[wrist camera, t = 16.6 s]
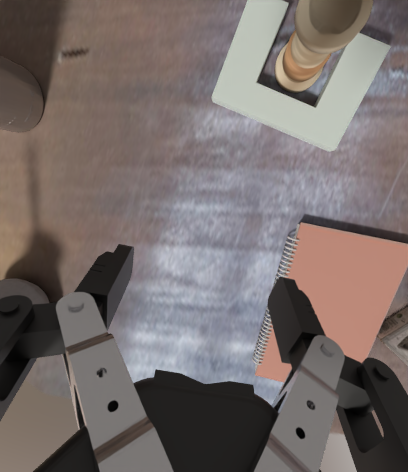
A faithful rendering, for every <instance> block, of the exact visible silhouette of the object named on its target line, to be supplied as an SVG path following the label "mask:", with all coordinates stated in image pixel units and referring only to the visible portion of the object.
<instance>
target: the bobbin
mask: <svg viewBox="0 0 408 472" xmlns="http://www.w3.org/2000/svg"><path fill="white" fill-rule="evenodd" d="M372 5H373V0H299V3H298V6H297V9H296V13H295V31H294V32H293V34H292V36H291V38H290V40H289V42H288V43H287V44H286V45H285V46H284V47H283V49H282V50H281V52H280V54H279V56H278V58H277V61H276V64H275V78H276V81H277V83H278V84H279V86H280V87H281V88H282V89H284V90H285V91H287V92H291V93H299V92H302V91H305V90H306V89H308V88H309V87H311V86H312V85H313V84H314V82H315V81H316V80H317V79H318V78H319V76H320V74H321V72H322V70H323V66H324V64H325V63H326V62H327V61H328V59H329V57H330V56H331V53H333V52H336V51H339V50H340V49H342V48H344V47H345V46H346V45H348V44H349V43H350V42H351V41H352V40H353V39H354V37H355V36H356V35H357V34H358V33H359V32H360V31H361V30H362V28H363V27H364V25H365V24H366V22H367V20H368V18H369V16H370V13H371V10H372Z"/></svg>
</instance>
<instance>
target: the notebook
mask: <svg viewBox="0 0 408 472" xmlns="http://www.w3.org/2000/svg"><path fill="white" fill-rule="evenodd" d="M287 238H288V239H291V240H293V242H292V243H290V242H288V241H287V240H286V243H287V244H290V245H291V248H289V247H287V246H286V245H285V248H287V249H289V250H290V252H286V251H285V249H284V250H283V251H284V252H285V253H287V254H289V255H288V257H286V256H284V254H282V256H283V257H284V258H287V261H284V260H282V258H281V261H282V262H284V263H286V265H285V266H284V265H282V264H281V262H280V265H281V266H282V267H285V269H284V270H282V269H280V266H279V267H278V269H279V270H280V271H283V274H280V273H279V271H277V273H278V274H279V275H281V276H282V277H284V278H289V279H294V280H295V282H296V284H297V286H298V289H299V290H302V291H303V292H304V293H305V294H306V296H307V297H308V298H309V300H310V302H311V304H312V307H313V309H314V311H315V314H316V315H317V317H318V320H319V322H320V324H321V326H322V328H323V330H324V333H325V335H326V337H328V338H330V339H332V340H333V341H335V342H336V343H337V344H338V345H339V346H340V348H341V349H342V351H343V353H344V355H346V356H348V357H350V358H352V359H354V360H356V361H359V362H361V363H362V362H363V361H364V360H365V359H366V358H367V357H368V355H369V352H370V350H371V348H372V346H373V343H374V341H375V339H376V337H377V334H378V332H379V330H380V328H381V325H382V323H383V321H384V319H385V316H386V314H387V312H388V310H389V307H390V305H391V303H392V301H393V298H394V296H395V294H396V292H397V290H398V287H399V285H400V283H401V281H402V278H403V276H404V274H405V272H406V269H407V267H408V244H406V243H401V242H396V241H391V240H386V239H382V238H377V237H372V236H367V235H362V234H357V233H352V232H347V231H342V230H337V229H332V228H327V227H322V226H317V225H312V224H307V223H302V222H301V223H300V224H298V225H297V228H296V232H295V235H294V239H293V238H290V237H289V236H287ZM276 278H277V279H278V278H279V277H277V275H276ZM275 282H277V281H276V279H275ZM274 286H275V283H274ZM273 288H274V287H273ZM273 288H272V289H273ZM271 292H272V291H271ZM267 310H268V311H269V309H268V306H267ZM267 310H266V314H267V315H268V316H270V315H269V314H268V313H267ZM266 314H265V317H264V321H263V322H265V323H266V324H268V326H265V325H264V323H263V325H262V326H264V327H266V328H267V329H266V330H265V329H263V327H262V326H261V330H264V331H265V332H266V333H265V334H264V333H263V332H262V331H261V330H260V333H262V334H263V335H265V336H264V337H262V336H261V335H260V333H259V336H260V337H261V338H262V339H263V341H262V340H260V338H259V336H258V340H260V342H262V345H261V344H260V343H259V342H258V340H257V343H258V344H259V345H260V346H261V348H259V347H258V346H257V343H256V347H257V348H258V349H260V352H259V351H258V350H257V349H256V347H255V350H256V351H257V352H258V353H259V355H257V354H256V353H255V350H254V354H255V355H256V356H258V359H257V358H256V357H255V356H254V354H253V357H254V358H255V359H256V360H257V362H255V361H254V359H253V357H252V360H253V361H254V363H256V366H255V371H256V373H255V375H256V376H260V377H265V378H269V379H273V380H277V381H281V382H284V381H285V379H286V378H287V376H288V374H289V372H290V370H291V369H292V367H291V364H287V363H282V361H281V357H280V353H279V349H278V345H277V341H276V337H275V333H274V329H273V325H272V321H271V317H270V319H269V318H267V317H266ZM265 318H266V319H267V320H269V323H268V322H266V321H265Z"/></svg>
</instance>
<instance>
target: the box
mask: <svg viewBox="0 0 408 472" xmlns="http://www.w3.org/2000/svg"><path fill="white" fill-rule="evenodd" d="M377 337H378V338H379V339H380V341H381V342H383V344H385V345H386V346H387V347H388V348H389V349H390V350H391V351H392V352H393V353H394V354H395V355H396V356H397V357H398V358H399V359H400V360H401V361H403V362H404V363H405V365H406V366H408V306H407V307H406V308H404V309H403V310H401V311H400V312H398V313H397V314H395V315H394V316H393V317H391V318H389V319H388V320H386V321H385V322H383V323H382V325H381V328H380V330H379V332H378V334H377Z"/></svg>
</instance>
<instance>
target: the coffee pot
mask: <svg viewBox="0 0 408 472" xmlns="http://www.w3.org/2000/svg"><path fill="white" fill-rule="evenodd" d="M12 295H22V296H26V297H28V298H29V299H31V301H32V304H45V303H49V300H48V297H47V295H46V294H45V292H44V291H43V290H42V289H41V288H40V287H38V286H37V285H35V284H33V283H30V282H28V281H26V280H22V279H17V278H15V279H3V280H1V281H0V299H1V298H4V297H7V296H12Z"/></svg>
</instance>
